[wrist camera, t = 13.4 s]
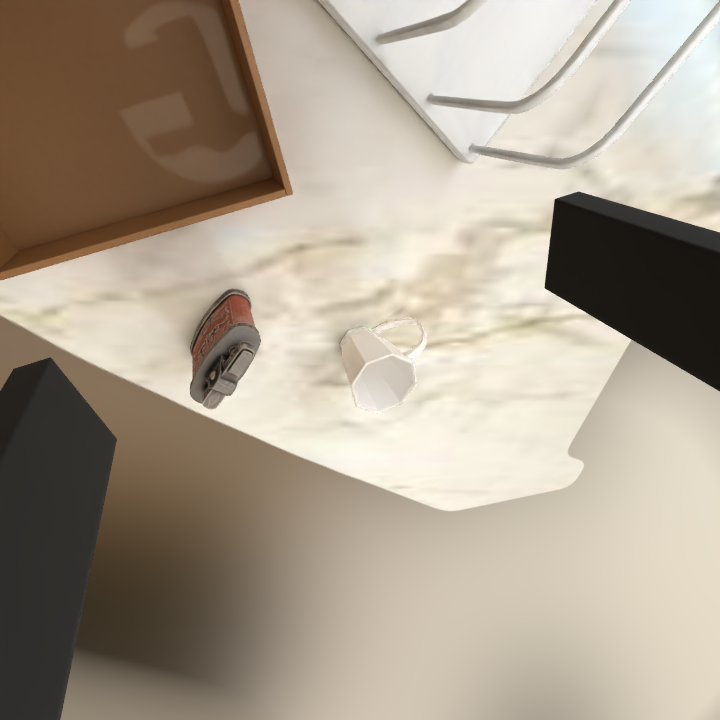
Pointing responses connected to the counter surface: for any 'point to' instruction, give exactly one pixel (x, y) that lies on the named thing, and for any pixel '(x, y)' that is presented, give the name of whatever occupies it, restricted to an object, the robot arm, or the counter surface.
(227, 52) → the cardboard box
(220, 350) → the lighter
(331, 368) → the counter surface
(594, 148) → the file sorter
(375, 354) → the cup
